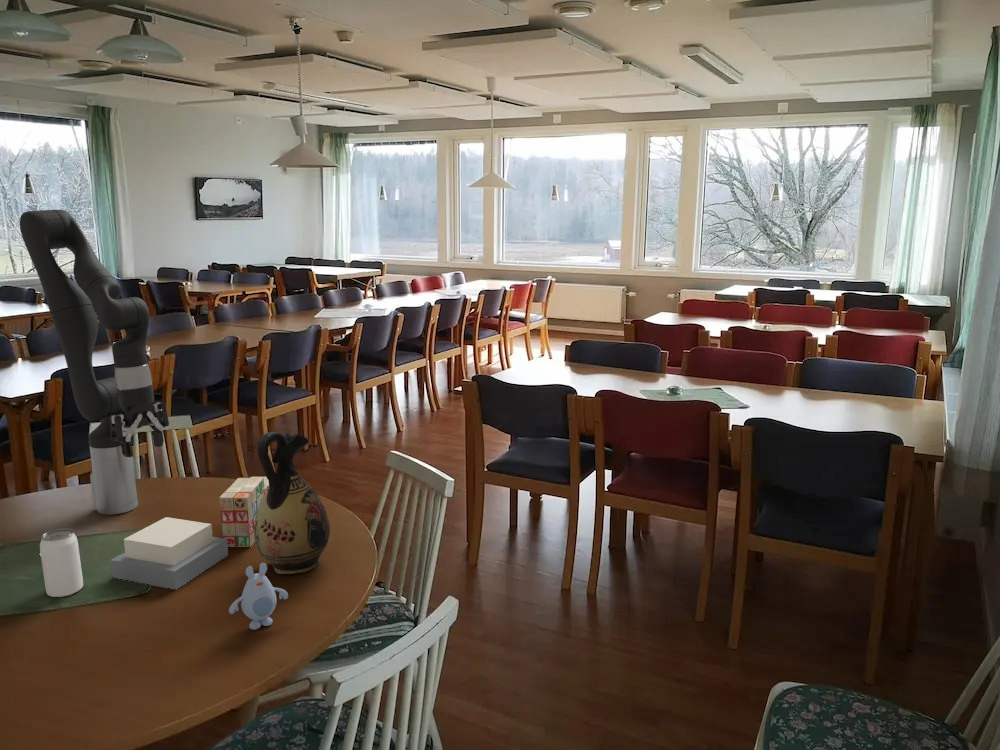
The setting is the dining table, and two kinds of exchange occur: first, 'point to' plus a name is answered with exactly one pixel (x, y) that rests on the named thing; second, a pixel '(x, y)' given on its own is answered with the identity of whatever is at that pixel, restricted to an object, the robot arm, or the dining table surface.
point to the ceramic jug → (289, 510)
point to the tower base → (169, 571)
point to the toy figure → (258, 598)
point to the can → (61, 562)
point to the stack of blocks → (241, 509)
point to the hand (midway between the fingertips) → (143, 451)
